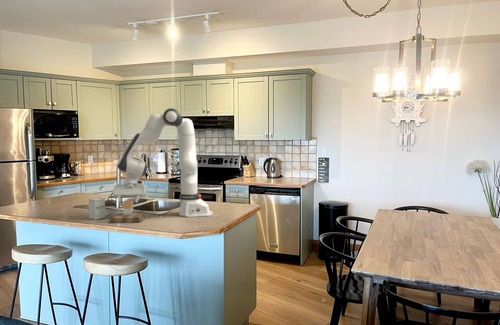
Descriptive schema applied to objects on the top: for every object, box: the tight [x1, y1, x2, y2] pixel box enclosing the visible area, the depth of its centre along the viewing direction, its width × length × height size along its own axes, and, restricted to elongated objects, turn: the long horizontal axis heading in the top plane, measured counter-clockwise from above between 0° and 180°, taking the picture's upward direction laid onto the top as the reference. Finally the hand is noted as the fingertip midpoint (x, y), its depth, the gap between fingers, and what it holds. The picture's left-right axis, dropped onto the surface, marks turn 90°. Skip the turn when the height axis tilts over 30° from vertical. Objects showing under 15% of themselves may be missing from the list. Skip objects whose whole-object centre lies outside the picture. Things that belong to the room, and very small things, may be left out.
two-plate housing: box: [122, 199, 134, 216], centre depth 233 cm, size 5×4×9 cm
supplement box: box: [88, 197, 106, 220], centre depth 238 cm, size 7×7×13 cm
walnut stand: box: [109, 212, 146, 224], centre depth 234 cm, size 18×16×3 cm
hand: (128, 202), depth 233 cm, fingers open, 8 cm apart
